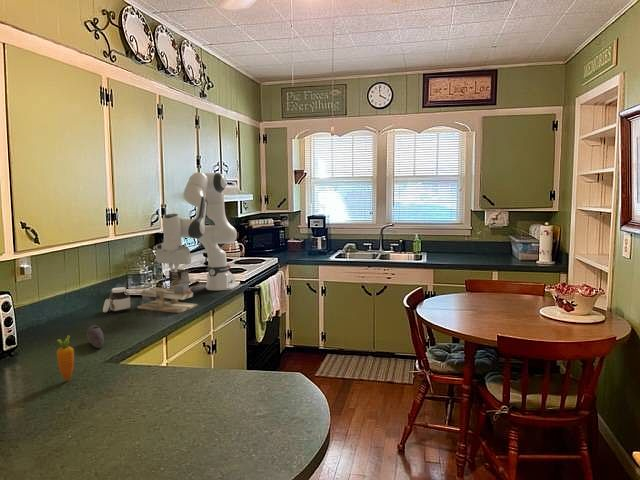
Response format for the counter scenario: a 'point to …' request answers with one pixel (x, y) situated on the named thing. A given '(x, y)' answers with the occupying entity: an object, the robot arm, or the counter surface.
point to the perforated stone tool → (95, 336)
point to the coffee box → (179, 277)
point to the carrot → (65, 359)
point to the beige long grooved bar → (165, 294)
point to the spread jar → (117, 300)
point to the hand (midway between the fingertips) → (174, 272)
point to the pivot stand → (167, 304)
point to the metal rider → (180, 288)
